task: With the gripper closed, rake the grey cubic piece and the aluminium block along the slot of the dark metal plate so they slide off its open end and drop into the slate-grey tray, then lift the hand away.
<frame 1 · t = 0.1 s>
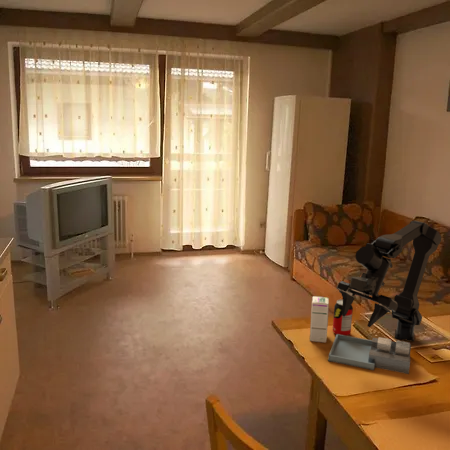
hand: (355, 321, 147), 15 cm above the table, tool tilted 30°, fingers open, 9 cm apart
beverage can: (341, 334, 171), on the table
tray: (353, 353, 157), on the table
syrup box: (317, 338, 167), on the table
grey cubic piece: (401, 355, 151), point 2 cm above the table, touching slot plate
front chip: (383, 352, 153), point 2 cm above the table, touching slot plate
slot plate: (389, 360, 153), on the table
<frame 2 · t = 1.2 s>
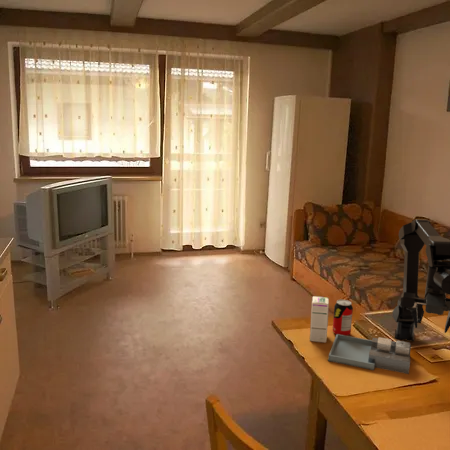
hand: (430, 329, 146), 13 cm above the table, tool pointing down, fingers open, 8 cm apart
nothing on the table moved.
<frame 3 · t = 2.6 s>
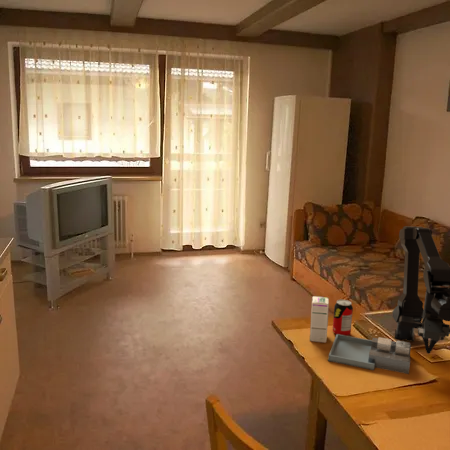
hand: (428, 353, 148), 5 cm above the table, tool pointing down, fingers closed
nothing on the table moved.
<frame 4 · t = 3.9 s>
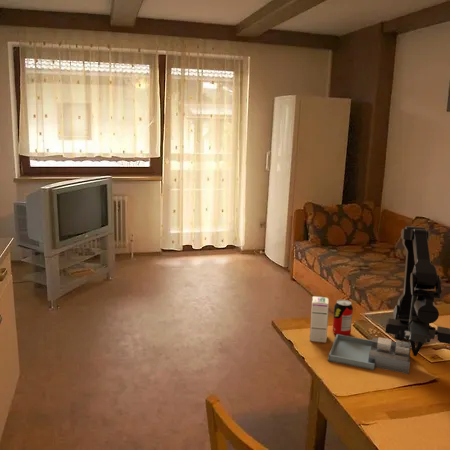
hand: (414, 355, 150), 3 cm above the table, tool pointing down, fingers closed
grey cubic piece: (401, 355, 151), point 3 cm above the table, touching gripper
everything else where it was.
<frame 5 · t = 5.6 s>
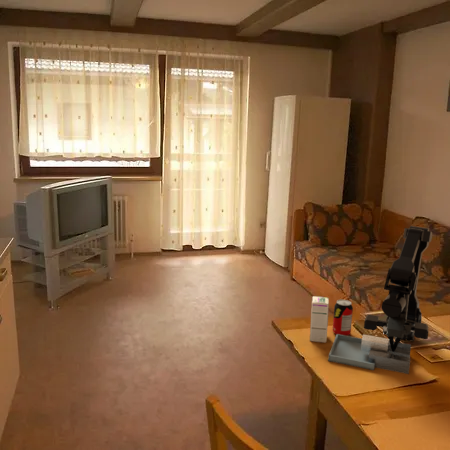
hand: (393, 351, 152), 4 cm above the table, tool pointing down, fingers closed
grey cubic piece: (380, 351, 154), point 3 cm above the table, touching gripper, slot plate
front chip: (367, 349, 155), point 2 cm above the table, touching slot plate
everything else where it was.
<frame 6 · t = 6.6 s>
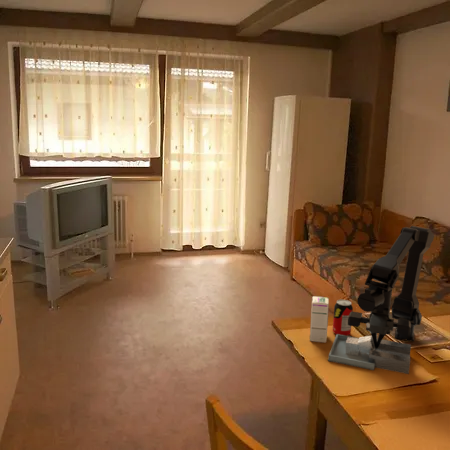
hand: (376, 347, 154), 4 cm above the table, tool pointing down, fingers closed
grey cubic piece: (368, 350, 155), point 2 cm above the table, tilted 21°, touching front chip, gripper
front chip: (359, 347, 156), point 3 cm above the table, tilted 93°, touching grey cubic piece
everything else where it was.
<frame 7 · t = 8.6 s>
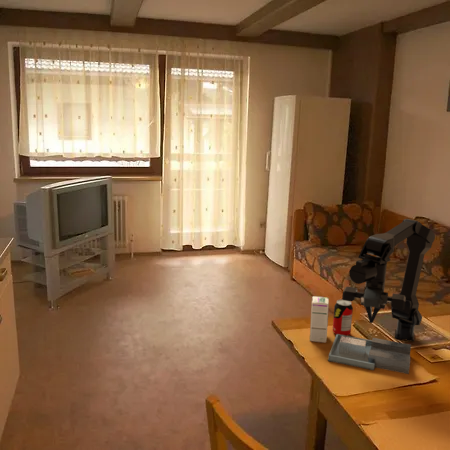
hand: (371, 322, 153), 12 cm above the table, tool pointing down, fingers closed
grey cubic piece: (358, 353, 156), resting on tray, touching front chip
front chip: (352, 346, 157), point 2 cm above the table, tilted 90°, touching grey cubic piece, tray
everything else where it was.
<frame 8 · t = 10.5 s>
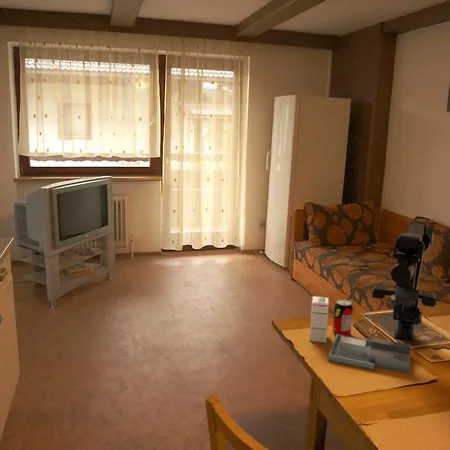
hand: (400, 319, 155), 12 cm above the table, tool pointing down, fingers closed
nothing on the table moved.
at the end: front chip inside the target area on the tray (0.6 cm from its centre), point 2.5 cm above the tray's base; grey cubic piece inside the target area on the tray (2.6 cm from its centre), point 0.5 cm above the tray's base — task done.
